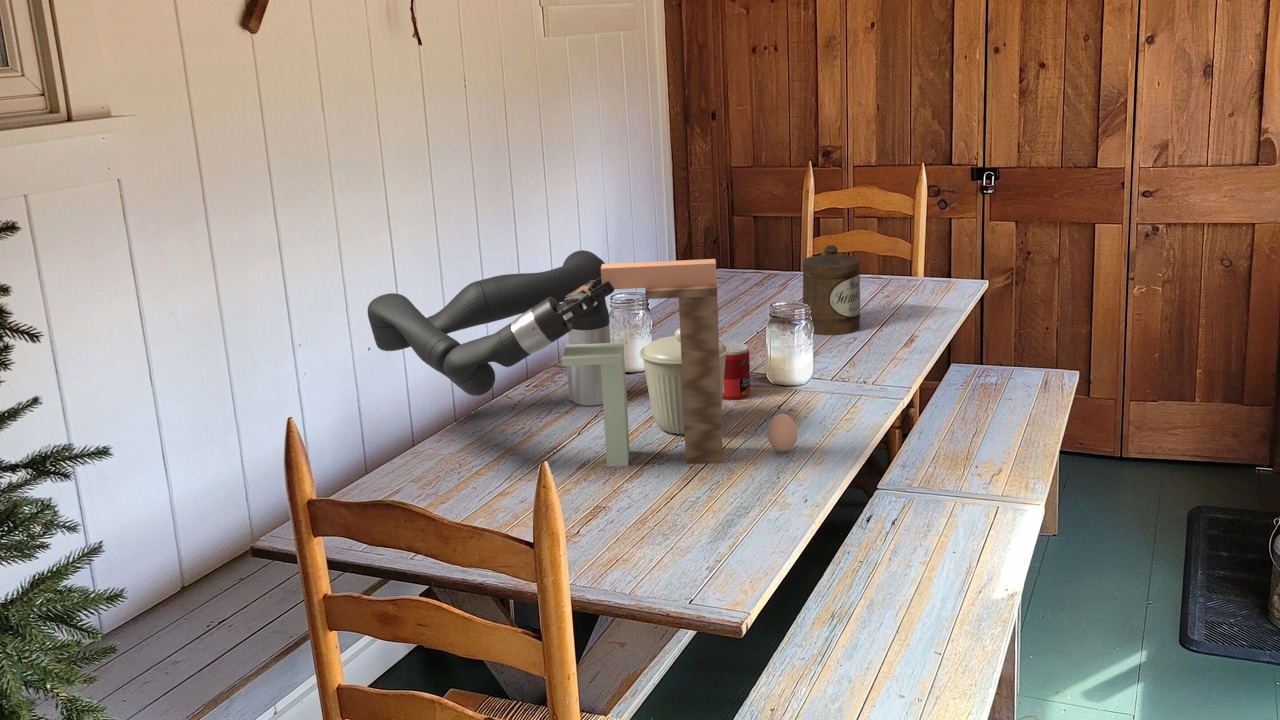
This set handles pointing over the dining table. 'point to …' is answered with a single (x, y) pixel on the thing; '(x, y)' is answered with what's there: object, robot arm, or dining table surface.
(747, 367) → the canned food
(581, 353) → the sage ledge
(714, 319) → the walnut stand
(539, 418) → the dining table surface
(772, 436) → the egg
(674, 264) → the peach rectangular bar
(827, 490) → the dining table surface
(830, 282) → the wooden container
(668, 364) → the canister
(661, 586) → the dining table surface
